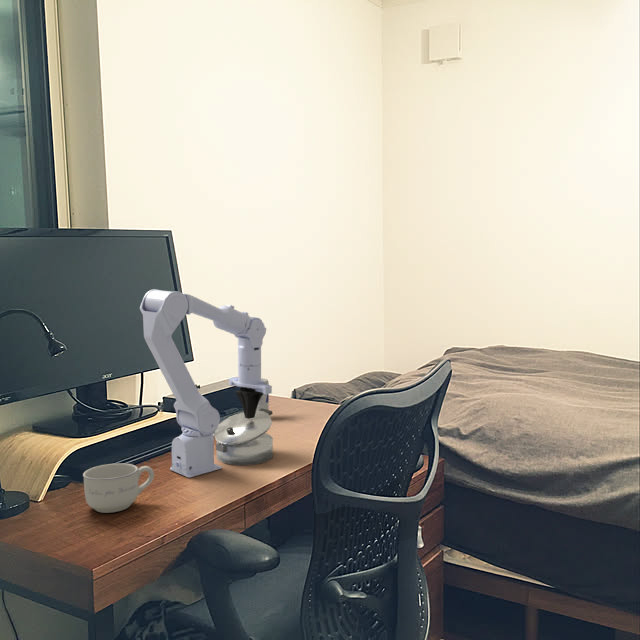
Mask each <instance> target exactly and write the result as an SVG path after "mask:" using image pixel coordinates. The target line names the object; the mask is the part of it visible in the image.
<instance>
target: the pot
mask: <svg viewBox="0 0 640 640" xmlns="http://www.w3.org/2000/svg"><path fill="white" fill-rule="evenodd" d="M273 439H274V438H273V436H272V435H271V434H269V433H267V432H266V433H264V434H263V435H262V436H260V437H258V438H257V439H254V440H252V441H250V442H247V443H243V444H238V445H223V444H220V443H218V442H217V441H216V444H215V450H216V459H217V461H219V462H220V461H221V462H220V463H222V464H226V463H227V465H231V464H233V465H232V466H252V465H258V464H260V465H261V464H263V463H267V462H269V461H271V459H272V458H273V456H274V453H273V450H274V449H273V448H274V447H273V446H274V444H273V443H274V441H273Z"/></svg>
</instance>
